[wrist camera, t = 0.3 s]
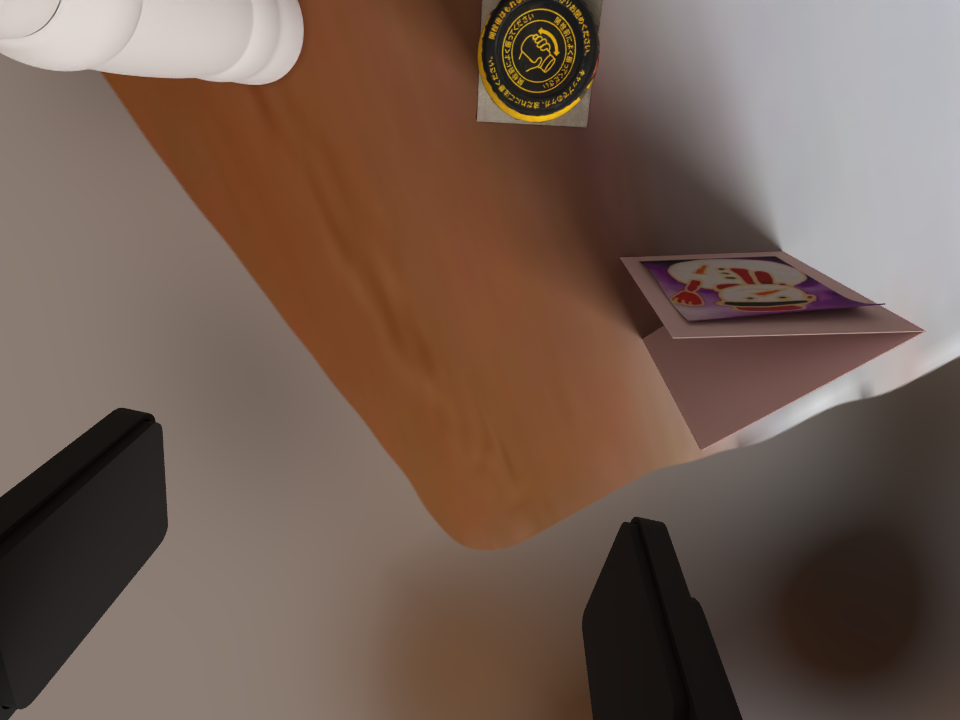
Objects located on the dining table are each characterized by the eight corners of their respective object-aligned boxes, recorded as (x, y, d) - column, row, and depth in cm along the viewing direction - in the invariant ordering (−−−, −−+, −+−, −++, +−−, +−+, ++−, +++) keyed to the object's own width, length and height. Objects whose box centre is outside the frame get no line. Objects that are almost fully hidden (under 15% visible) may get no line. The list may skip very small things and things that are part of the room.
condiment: (477, 121, 36) (459, 128, 25) (483, -33, 33) (466, -100, 22) (586, 127, 36) (615, 137, 25) (605, -27, 32) (649, -93, 21)
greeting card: (785, 239, 38) (931, 313, 25) (767, 336, 41) (888, 449, 28) (620, 245, 39) (674, 320, 26) (615, 340, 42) (661, 451, 29)
